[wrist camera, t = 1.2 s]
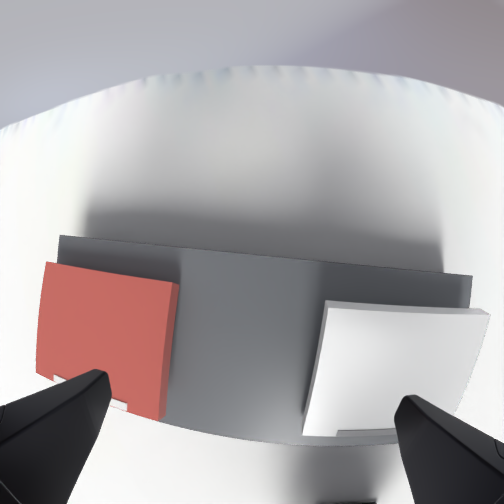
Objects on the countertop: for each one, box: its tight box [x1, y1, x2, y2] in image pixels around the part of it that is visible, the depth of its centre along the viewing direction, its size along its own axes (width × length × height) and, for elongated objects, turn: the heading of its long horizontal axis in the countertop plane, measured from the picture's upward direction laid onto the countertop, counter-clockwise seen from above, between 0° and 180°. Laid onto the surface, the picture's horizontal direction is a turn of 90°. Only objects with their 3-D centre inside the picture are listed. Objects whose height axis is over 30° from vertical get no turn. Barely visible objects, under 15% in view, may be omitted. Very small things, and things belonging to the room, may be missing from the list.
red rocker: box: [36, 261, 179, 421], centre depth 15 cm, size 8×10×1 cm
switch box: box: [57, 235, 473, 446], centre depth 18 cm, size 12×29×5 cm, turn 84°
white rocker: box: [302, 300, 490, 437], centre depth 13 cm, size 8×10×1 cm
